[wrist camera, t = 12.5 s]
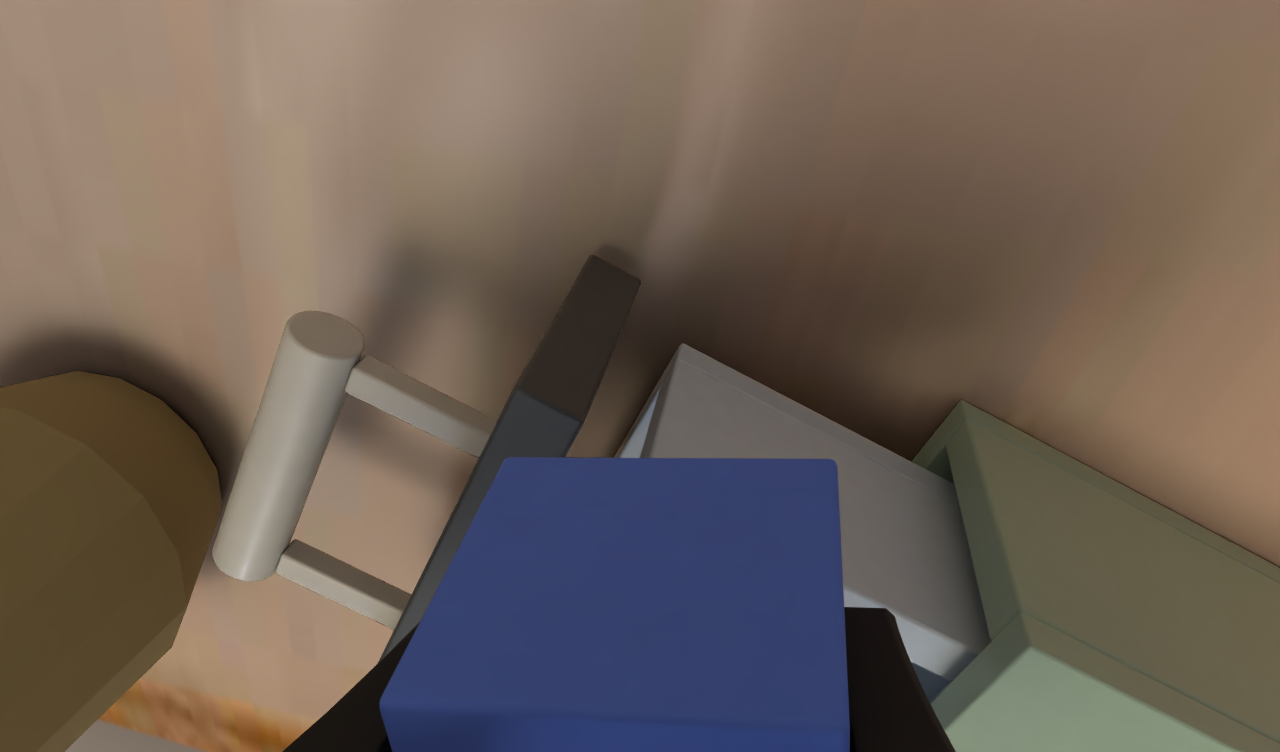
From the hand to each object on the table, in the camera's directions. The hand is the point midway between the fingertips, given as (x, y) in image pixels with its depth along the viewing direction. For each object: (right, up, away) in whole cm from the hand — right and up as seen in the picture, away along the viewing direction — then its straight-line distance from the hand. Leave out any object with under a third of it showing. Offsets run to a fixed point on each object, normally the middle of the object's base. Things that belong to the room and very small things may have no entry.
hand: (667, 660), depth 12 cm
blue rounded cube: (0, +1, +1) cm, 1 cm away
